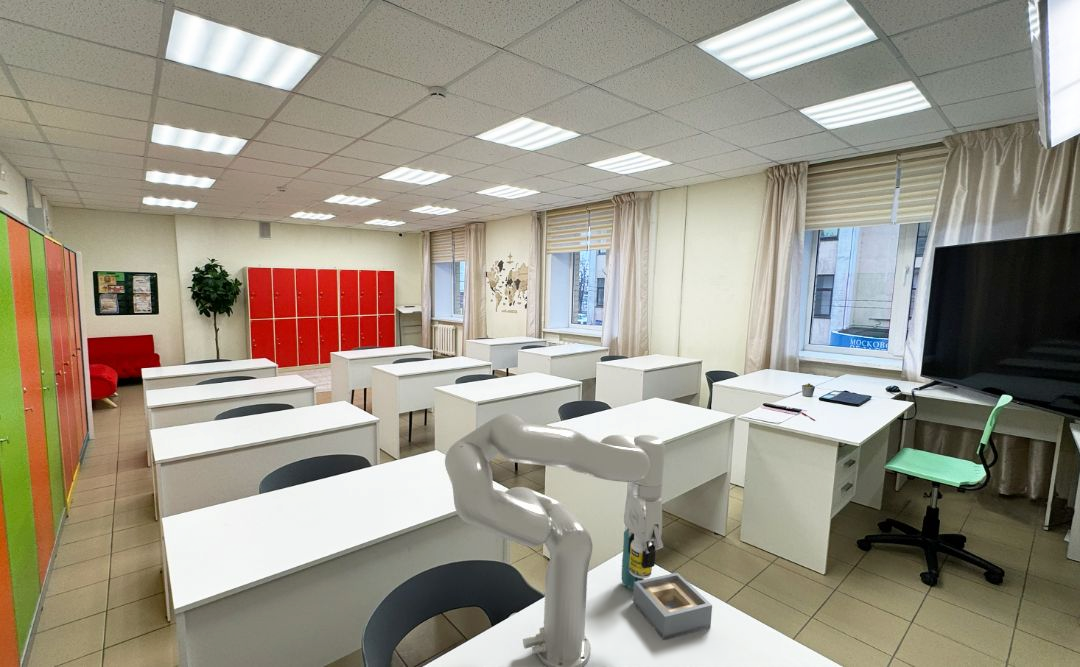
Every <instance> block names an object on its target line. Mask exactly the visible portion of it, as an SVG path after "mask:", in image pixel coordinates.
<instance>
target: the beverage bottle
mask: <svg viewBox="0 0 1080 667" xmlns="http://www.w3.org/2000/svg"><path fill="white" fill-rule="evenodd" d="M628 531H629V530H628V528H626V529H625V530H624V531H623V545H622V548H623V549H622V557H621V559H622V560H621V571H620V572H621V575H620V576H621V582H622V583H623V584H624V585H625V586H626V587H627V588H628V587H629V588H631V589H634V582H636V581H640V580H645V578H644V579H642V578H637V577H635V576H633V575H632V574H631V573H630V571H629V561H630V554H629V553H628V544H629V538H630V537H629V536H628Z"/></svg>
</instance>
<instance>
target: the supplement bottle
mask: <svg viewBox="0 0 1080 667" xmlns="http://www.w3.org/2000/svg"><path fill="white" fill-rule="evenodd" d="M648 544H649V546H651V545H652V541H650V542H648ZM643 551H645V549H644V542H643V541H641V540H640V539H639V538H638V537H637V536H636V535H635V534H634V540H633V541H632V542H631V547H630V561H629V571H630V573H631V574H632V575H633V576H635V577H637V578H642V579H644V580H645V579H649V578H651V575H652V570H653V567H649V568H643V567H642V555H643Z"/></svg>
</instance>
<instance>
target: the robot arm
mask: <svg viewBox="0 0 1080 667" xmlns="http://www.w3.org/2000/svg"><path fill="white" fill-rule="evenodd" d="M665 450H666V445H665V442H664V440H663V439H662V438H660V437H657V436H655V435H649V434H642V435H637V436H630V435H629V436H627V435H621V434H620V435H619V434H615V435H614V434H613V435H608V436H606V437H604V438H603V439H601V440H600V441H598V440H596V439H593V438H592V437H588V435H585V434H582V433H581V432H578V431H576V430H573V429H570V428H566V427H558V426H551V425H546V424H545V425H544V424H539V423H538V424H537V423H532V422H531V423H529V422H526V421H524V420H523V419H522V418H520V417H519V416H517V415H516V414H514V413H509V412H508V413H502V414H500V415H497V416H495V417H493V418H492V419H490V420H488V421H486V422H484V424H482V425H480V426H479V427H478V428H475V429H474V430H473V431H471V432H469V433H468V434H467V435H465V436H463V437H461V438H460V439H459V440H457V441H456V442H454V443H453V444H452V445H451V446H450V448H449V449H448V451H447V452H446V455H445V458H444V465H445V466H444V467H445V470H446V472H447V475H448V478H449V480H450V482H451V486H452V494H453V504H454V507H455V511H456V513H457V515H458V516H459V518H460V519H461V520H462V522H464V523H466V524H468V525H469V526H471V527H474V528H477V529H480V530H484V531H485V532H488V533H491V534H493V535H495V536H498V537H500V538H503V539H506V540H508V541H511V542H514V543H516V544H518V545H521V546H523V547H528V548H535V547H540V546H541V545H543V544H544V545H545V547H546V548H547V550H548V553H549V562H548V564H547V566H546V567H547V568H546V570H545V581H544V614H543V627H540V628H539V632H538V633H536V634H535V636H530V637H525V638H523V639H522V645H523V649H524V650H525V649H529V648H531V652H532V655H536V654H537V656H538V658H539V660H540V661H541V662H542V664H544V665H545V666H547V667H583V666H585V665H586V664H587V663H588V662H589V660H590V656H591V649H592V648H591V644H590V641H589V639H588V638H587V636H586V635H585V634H586V633H585V631H586V612H587V611H586V610H587V609H586V608H587V591H588V588H587V587H588V573H589V572H588V571H589V566H590V561H591V558H592V554H593V540H592V537H591V535H590V534H591V533H589V531H588V529H587V528H586V526H585V525H584V524H583V522H581V520H580V519H579V518H578V517H577V516H576V515H575V514H574V513H573V511H571V510H570V508H569V507H567V506H566V505H565V504H564V503H562V502H561V501H559V500H557V499H554V498H552V497H550V496H547V495H546V494H543V493H541V492H538V491H536V490H533V489H531V488H528V487H525V486H515V487H511V488H509V489H507V490H505V491H502V490H499V489H495V488H494V483H493V481H494V480H493V478H494V477H493V471H492V467H491V465H490V462H491V461H493V460H494V459H495V458H497V457H498V456H500V455H501V456H502V457H503V458H504V459H505V460H507V461H509V462H512V463H518V464H527V465H537V466H545V467H553V468H554V467H555V468H563V469H567V470H570V471H572V472H576V473H580V474H583V475H586V476H590V477H593V478H597V479H601V480H607V481H612V482H623V483H629V488H628V490H627V494H626V498H625V504H624V513H623V523H624V525H625V527H626V529H628V530H629V531H628V536H629V537H630V538H629V544H628V553H629V554H630V547H631V542H632V541H633V540H634V534H635V535H636V536H637V537H638V538H639V539H640V540H641V541H643V542H644V549H645V551H643V555H642V567H643V568H649V567H652V568H653V567H655V565H656V564H655V562H656V553H657V552H658V551H659V550H660V549H663V548H664V542H663V540H662V532H663V530H662V529H663V504H662V495H663V478H664V465H665V464H664V463H665V455H666V454H665V453H666V451H665ZM650 541H651V543H652V545H651V546H649V544H648V542H650Z"/></svg>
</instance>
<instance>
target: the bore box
mask: <svg viewBox="0 0 1080 667" xmlns="http://www.w3.org/2000/svg"><path fill="white" fill-rule="evenodd" d="M632 595H633V596H632V603H633V605H634V606H635V607H636V608H637V610H639V612H640V614H641V615H643V617H644V618H645V619H646V620H647V622H648V623H649V625H651V627H652V628H653V629H654V630H655V632H656V633H657V634H658V635H659V636H660V637H661V639H662V640H663V641H665V640H668V639H672V638H676V637H680V636H684V635H688V634H692V633H694V632H700V631H703V630H707V629H711V628H712V627H711V625H712V614H713V604H712V603H711V602H709V601H708V599H706V597H704V596H703V595H702V594H701V593H700V592H699V591H698V590H697V589H696V588H694V586H693V585H692V584H691V583H689V582H688V581H687V580H686V579H685V578H684V577H683V576H682V575H681V574H680V573H678V572H673V573H669V574H664V575H660V576H655V577H649V578H644V580H640V581H636V582H634V588H633V594H632Z"/></svg>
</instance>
